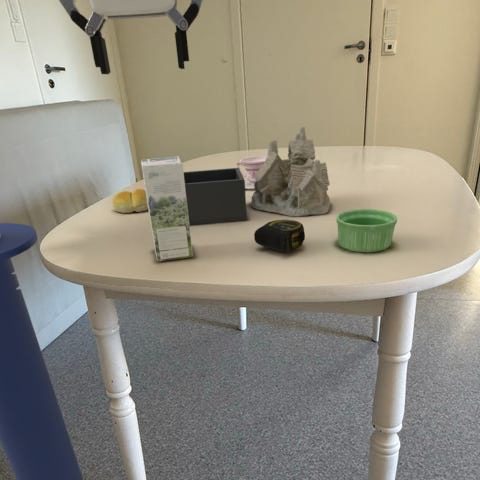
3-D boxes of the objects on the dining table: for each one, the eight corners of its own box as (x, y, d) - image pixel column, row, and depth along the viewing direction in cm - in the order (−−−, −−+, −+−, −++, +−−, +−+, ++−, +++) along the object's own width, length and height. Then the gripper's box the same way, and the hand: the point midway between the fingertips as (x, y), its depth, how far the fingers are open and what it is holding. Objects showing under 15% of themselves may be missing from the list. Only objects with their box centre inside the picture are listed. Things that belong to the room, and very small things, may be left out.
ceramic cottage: (251, 197, 100) (250, 125, 92) (325, 197, 99) (331, 124, 91) (248, 222, 87) (247, 140, 78) (334, 222, 86) (341, 139, 77)
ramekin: (378, 258, 64) (381, 229, 62) (324, 247, 70) (325, 220, 68) (403, 240, 70) (407, 213, 68) (352, 232, 75) (353, 206, 73)
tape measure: (252, 249, 71) (251, 226, 69) (282, 237, 75) (281, 216, 73) (283, 258, 67) (283, 234, 65) (313, 246, 70) (314, 223, 69)
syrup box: (189, 246, 74) (178, 154, 67) (193, 258, 69) (182, 160, 62) (155, 250, 73) (140, 158, 66) (156, 263, 68) (140, 164, 61)
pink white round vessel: (281, 178, 117) (281, 154, 114) (280, 189, 106) (280, 162, 103) (236, 180, 118) (234, 156, 115) (231, 191, 108) (229, 164, 105)
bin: (181, 225, 85) (176, 185, 81) (182, 208, 96) (178, 172, 92) (246, 220, 85) (244, 179, 82) (241, 204, 96) (238, 167, 93)
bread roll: (116, 205, 102) (113, 188, 100) (155, 202, 102) (153, 185, 100) (110, 215, 95) (106, 196, 93) (152, 212, 95) (149, 193, 93)
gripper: (197, -100, 52) (210, 67, 61) (47, -93, 51) (82, 76, 60) (197, -126, 46) (212, 66, 54) (26, -118, 45) (68, 76, 53)
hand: (144, 71), depth 57 cm, fingers open, 9 cm apart
